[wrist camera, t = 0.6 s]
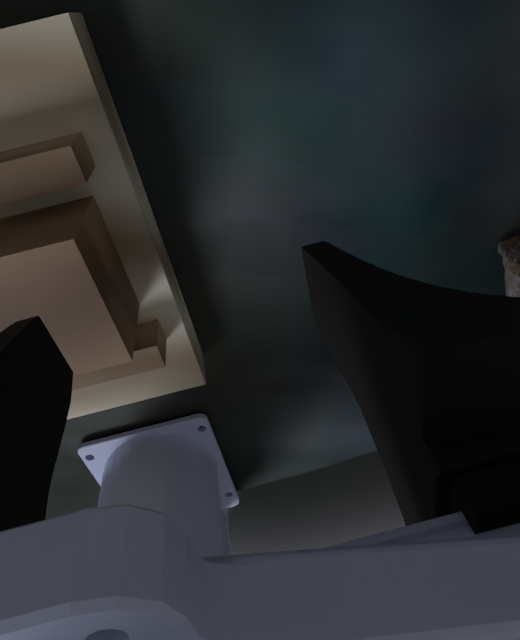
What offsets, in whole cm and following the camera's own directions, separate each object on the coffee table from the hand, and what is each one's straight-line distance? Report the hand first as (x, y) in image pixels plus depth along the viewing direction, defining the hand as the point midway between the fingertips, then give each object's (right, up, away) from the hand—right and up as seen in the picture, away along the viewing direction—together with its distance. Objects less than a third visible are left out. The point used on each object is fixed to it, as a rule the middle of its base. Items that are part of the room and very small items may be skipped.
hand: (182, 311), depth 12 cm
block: (-6, +2, +6) cm, 9 cm away
